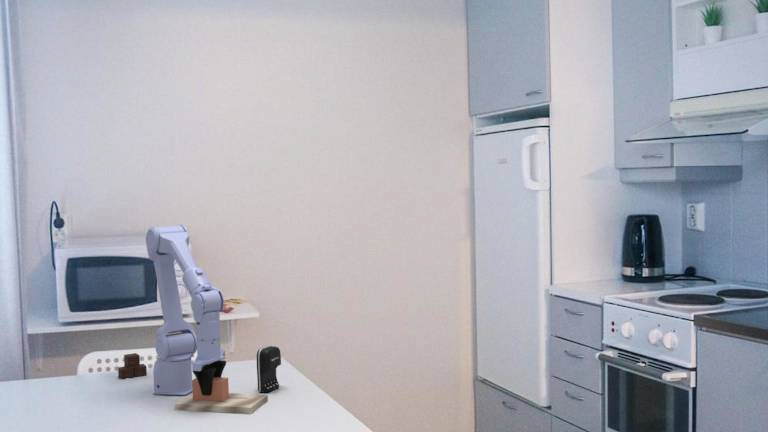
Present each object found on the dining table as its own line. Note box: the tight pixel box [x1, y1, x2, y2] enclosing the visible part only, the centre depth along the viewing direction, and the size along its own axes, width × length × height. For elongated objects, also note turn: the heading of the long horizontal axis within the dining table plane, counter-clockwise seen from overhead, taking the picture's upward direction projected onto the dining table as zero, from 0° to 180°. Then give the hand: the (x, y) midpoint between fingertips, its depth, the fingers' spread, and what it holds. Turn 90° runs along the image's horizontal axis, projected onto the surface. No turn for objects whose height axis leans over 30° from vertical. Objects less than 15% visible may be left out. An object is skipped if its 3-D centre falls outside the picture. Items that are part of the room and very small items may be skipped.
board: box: [173, 392, 269, 415], centre depth 197 cm, size 20×11×2 cm, turn 77°
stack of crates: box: [117, 352, 148, 380], centre depth 229 cm, size 15×15×7 cm
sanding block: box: [192, 376, 230, 401], centre depth 197 cm, size 8×4×5 cm, turn 77°
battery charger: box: [256, 345, 282, 393], centre depth 210 cm, size 7×4×11 cm, turn 154°
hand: (210, 392), depth 197 cm, fingers closed on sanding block, 4 cm apart
